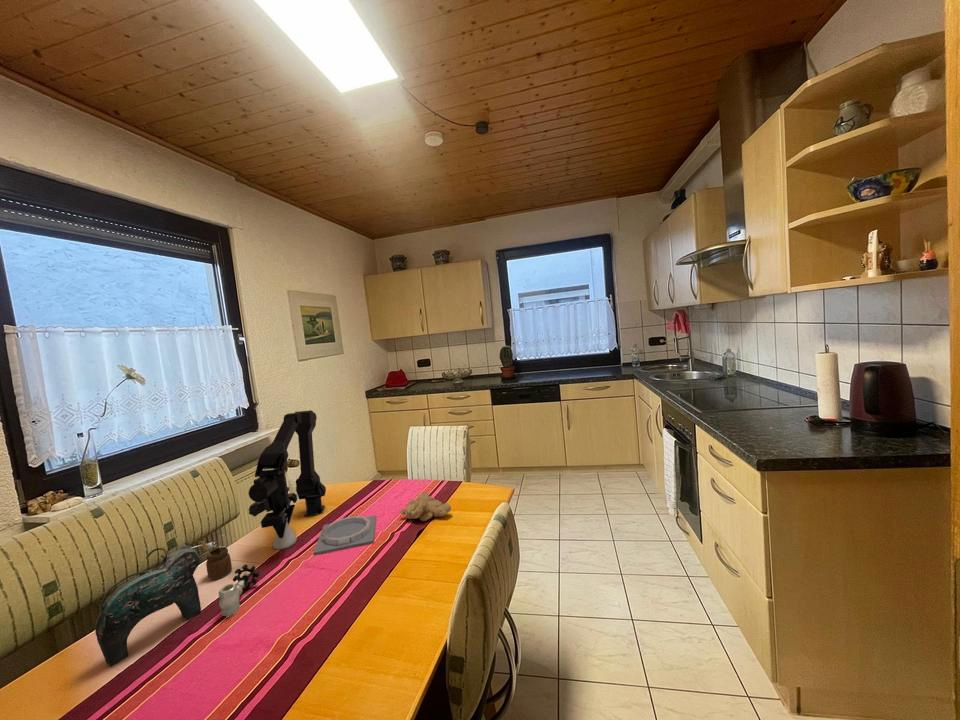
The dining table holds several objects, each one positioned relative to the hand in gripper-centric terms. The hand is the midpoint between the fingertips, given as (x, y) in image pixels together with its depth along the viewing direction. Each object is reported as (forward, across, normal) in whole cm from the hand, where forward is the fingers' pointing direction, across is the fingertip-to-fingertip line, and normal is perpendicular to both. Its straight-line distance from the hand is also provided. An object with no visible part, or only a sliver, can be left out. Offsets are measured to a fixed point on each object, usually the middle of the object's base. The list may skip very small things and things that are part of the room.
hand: (283, 533), depth 127 cm
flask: (+4, 0, 0) cm, 4 cm away
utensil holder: (+4, +11, -15) cm, 19 cm away
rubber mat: (+4, +2, +20) cm, 20 cm away
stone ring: (+4, +2, +20) cm, 20 cm away
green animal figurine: (+4, +33, -19) cm, 38 cm away
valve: (+4, +27, -4) cm, 27 cm away
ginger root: (+4, -1, +46) cm, 46 cm away
